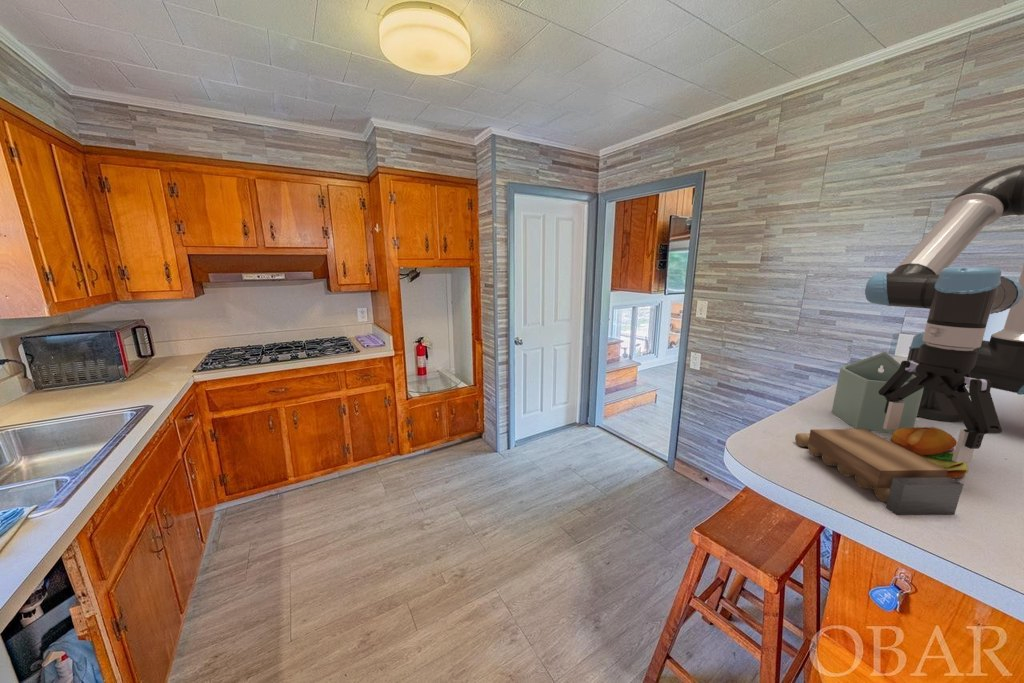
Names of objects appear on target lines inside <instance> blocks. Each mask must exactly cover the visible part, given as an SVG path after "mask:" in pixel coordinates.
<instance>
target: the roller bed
mask: <svg viewBox="0 0 1024 683" xmlns="http://www.w3.org/2000/svg"><path fill="white" fill-rule="evenodd" d="M809 436H810V432H808V433H807V432H806V433H801V432H800V433H796V434H795V436H794V437H795V438H794V439H795V443H796V445H797V446H799V447H807V449H808V452H809V453H810V454H811V455H813V456H821V457H822V460H823V462H824V464H826V466H827V465H828V466H837V469H838V471H839V473H840V474H841V475H842V476H844V477H854V480H855V482H856V484H857V485H858V486H859V487H860V488H862V489H873V490H874V494H875V496H876V498H877V499H878V500H880V501H881V502H884V503H887V500H888V496H889V492H890V488H876V487H875V486H873V485H872V484H870V483H868V482H867V481H865V480H864V479H862V478H861V477H859V476H857V475H856V474H854V473H853V472H851V471H850V470H848V469H847V468H845V467H843V466H842V465H840V464H839V463H837V462H836V461H834V460H833V459H831V458H829V457H828V456H826V455H825V454H823V453H822V452H820V451H818V450H817V449H815V448H814V447H812V446H811V445H809V444H808V441H809Z"/></svg>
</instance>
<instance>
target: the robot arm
mask: <svg viewBox="0 0 1024 683" xmlns="http://www.w3.org/2000/svg"><path fill="white" fill-rule="evenodd" d="M943 215H944V216H943V217H941V219H940V220H939V221H938V222H937V223H935V225H934V226H933V227H932V228H931V230H930V231H929V232H928V233H927V234H926V235H925V236H924V237H923V238H922V239H921V240H920V241H919V243H917V245H916V246H915V247H914V248H913V249H912V250H911V252H909V253H908V255H907V256H906V257H905V258H904V259H903V260H902V262H900V264H898V266H897V267H895V269H894V270H893V271H892V272H891V273H890V272H883V273H881V272H880V273H876V274H873V275H872V276H871V277H869V279H868V280H867V282H866V285H865V289H864V295H865V299H866V300H867V301H868V303H871V304H875V305H882V306H887V307H904V308H914V309H915V308H916V309H926V310H927V309H928V310H929V312H928V315H927V316H928V318H927V320H926V323H925V329H924V331H922V332H919V333H916V334H914V335H913V338H912V340H911V344H910V346H909V348H908V349H909V351H908V354H907V358H906V360H902V361H901V362H900V364H901V365H900V367H899V370H898V371H897V372H896V373H895V374H894V375H893V376H892V377H891V378H890V379H889V380H888V381H887V383H886V384H885V385H884V386H883V387H882V388H881V389H880V390H879V392H878V393H879V394H880V395H883V396H884V397H886V400H887V402H886V407H885V410H884V411H885V413H886V417H885V421H884V425H883V428H884V429H886V430H898V428H899V424H900V420H901V416H902V412H903V408H904V404H905V403H903V402H899V401H903V400H902V399H904V398H906V397H907V396H909V395H911V394H913V393H915V392H916V391H918V390H920V389H922V388H924V389H923V394H922V398H921V402H920V406H919V409H918V413H917V417H919V418H920V417H921V418H924V419H929V420H935V421H943V422H962V423H963V424H964V426H965V428H966V429H965V428H964V429H963V428H962V429H960V431H959V434H958V438H957V441H956V442H957V443H956V446H955V447H954V450H955V451H954V454H953V457H952V460H953V461H955V462H966V463H972V462H971V461H972V459H973V455H974V452H975V449H976V450H977V449H980V448H981V445H982V443H983V439H984V436H985V435H987V434H988V435H989V434H990V435H994V434H995V435H999V434H1002V432H1003V430H1002V426H1001V424H1000V420H999V417H998V413H997V411H996V410H997V409H996V408H995V407H996V406H995V403H994V400H993V398H992V394H991V390H992V389H996V390H999V391H1005V392H1010V393H1013V394H1015V393H1016V394H1017V395H1019V396H1021V395H1024V265H1023V266H1022V270H1021V272H1020V276H1019V278H1018V280H1015V279H1013V278H1011V277H1008V276H1004V275H1002V270H1001V269H1000V268H998V267H994V266H993V267H992V266H991V267H990V266H951V264H952V263H953V262H954V261H955V260H956V259H957V258H958V257H959V256H960V255H961V254H962V252H964V250H965V249H966V248H967V247H968V246H969V244H971V243H972V241H973V240H974V239H975V238H976V237H977V236H978V235H979V233H980V232H982V230H983V229H984V228H985V227H987V226H990V225H992V224H994V223H995V222H997V221H998V220H999V219H1000V218H1003V217H1009V216H1024V163H1022V164H1018V165H1014V166H1011V167H1007V168H1005V169H1001V170H1000V171H999V170H998V171H997V172H995V173H992V174H990V175H988V176H985V177H984V178H982V179H979V180H978V181H976V182H974V183H973V184H970V186H968V187H966V188H965V189H963V190H962V191H960V193H958V194H957V195H956V196H955V197H953V199H952V200H951V201H950V202H949V203H948V204H947V205H946V206H945V209H944V214H943ZM1006 310H1009V311H1008V314H1007V317H1006V320H1005V323H1004V326H1003V329H1002V330H999V331H997V332H995V333H993V334H991V336H990V338H989V340H984V338H985V332H986V328H987V324H988V322H989V318H990V315H992V314H997V313H998V314H999V313H1003V312H1005V311H1006ZM912 375H915V376H916V377H915V378H913V379H912V380H910V381H909V383H907V384H906V385H904V386H902V385H903V384H904V383H905V382H906V381H907V380H908V379H909V378H910V377H911V376H912ZM901 386H902V387H901Z"/></svg>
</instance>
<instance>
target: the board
mask: <svg viewBox="0 0 1024 683" xmlns="http://www.w3.org/2000/svg"><path fill="white" fill-rule="evenodd" d="M809 433H810V436H809V441H808V444H809V445H811V446H812V447H814V448H815V449H817V450H818V451H820V452H822V453H823V454H825V455H826V456H828V457H829V458H831V459H833V460H834V461H836V462H837V463H839V464H840V465H842V466H843V467H845V468H847V469H848V470H850V471H851V472H853V473H854V474H856V475H857V476H859V477H861V478H862V479H864V480H865V481H867V482H868V483H870V484H872V485H873V486H875V487H876V488H891V484H892V480H893V478H936V477H946V475H947V472H948V470H947V469H945V468H943V467H941V466H939V465H937V464H935V463H933V462H931V461H929V460H927V459H925V458H923V457H921V456H919V455H917V454H915V453H913V452H911V451H909V450H907V449H904V448H902V447H900V446H898V445H896V444H894V443H892V442H891V440H888V439H886V438H884V437H882V436H880V435H878V434H876V433H874V432H873V431H868V430H866V429H855V428H846V429H845V428H840V429H838V428H835V429H834V428H833V429H831V428H830V429H829V428H828V429H827V428H826V429H823V428H822V429H814V428H813V429H810V432H809Z"/></svg>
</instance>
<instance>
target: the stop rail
mask: <svg viewBox="0 0 1024 683" xmlns="http://www.w3.org/2000/svg"><path fill="white" fill-rule="evenodd" d="M963 488H964V483H963V482H960V481H958V480H956V479H954V478H950V477H936V478H893V480H892V484H891V488H890V492H889V496H888V500H887V502H886V504H885V508H886V509H887V510H889V511H891V512H892V513H893V514H895V515H896V516H901V515H902V516H912V515H914V516H922V515H923V516H925V515H926V516H927V515H928V516H930V515H931V516H933V515H934V516H935V515H936V516H937V515H939V516H940V515H941V516H943V515H955V514H956V510H957V507H958V504H959V501H960V497H961V494H962V491H963Z"/></svg>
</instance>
